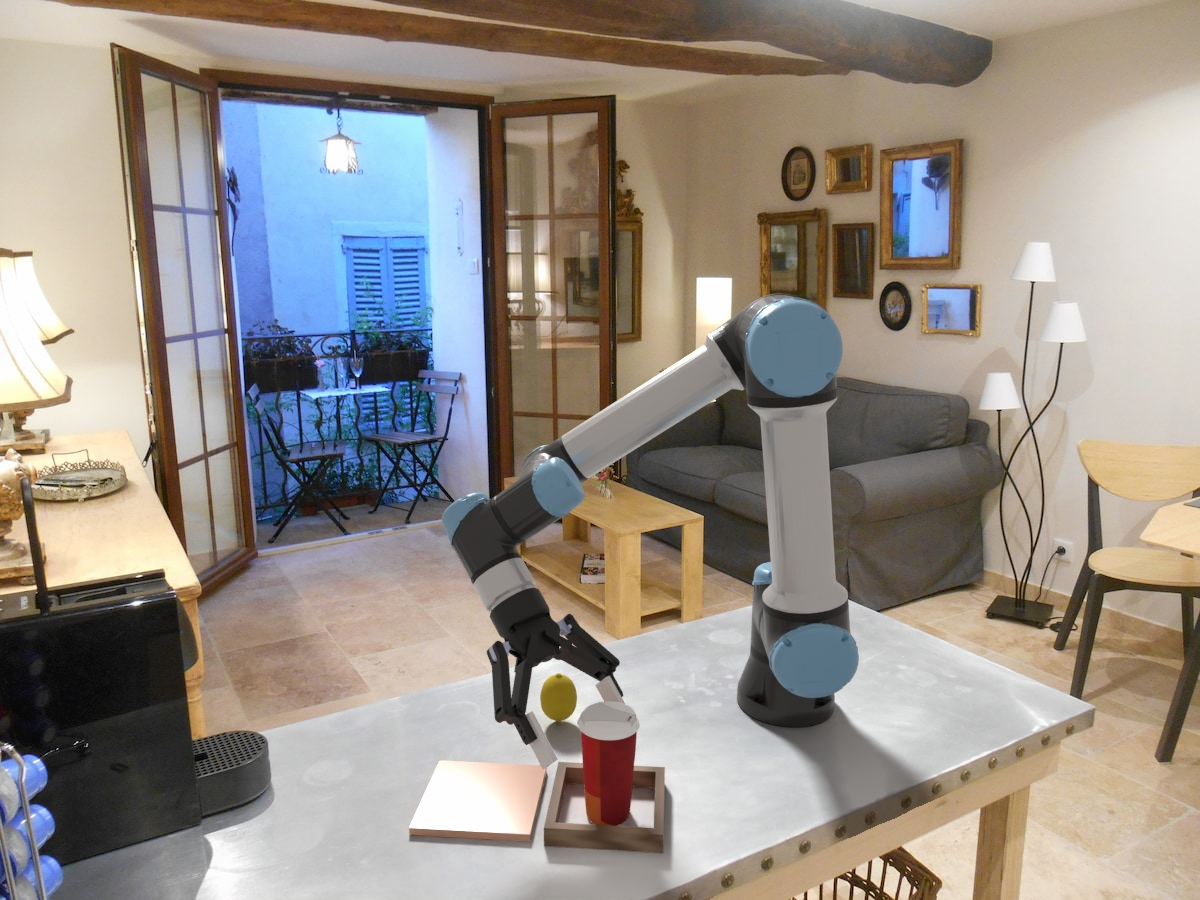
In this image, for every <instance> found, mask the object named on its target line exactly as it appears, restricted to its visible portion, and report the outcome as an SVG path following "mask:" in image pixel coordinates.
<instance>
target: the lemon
mask: <svg viewBox="0 0 1200 900" xmlns="http://www.w3.org/2000/svg"><path fill="white" fill-rule="evenodd" d="M577 694H578V693H577V689H576V686H575V684H574V682H573V680H572V679H571V678H570V677H568V676H567V675H565V674H562V673H559V672H558V673H556V674H553V675H550V676H549V677H548V678H547V679H545V681H544V682H543V684H542V687H541V690H540V697H539V699H540V707H541V710H542V712H543V714H544V715H545V716H546V717H547V718H549V719H550V720H551V721H552V720H553V721H555V722H556V723H561V722H562V721H564V720H567V719H569V718H570V717H571V716H572V715H573V713H574V712H575V710H576V708H577V703H578V695H577Z"/></svg>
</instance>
